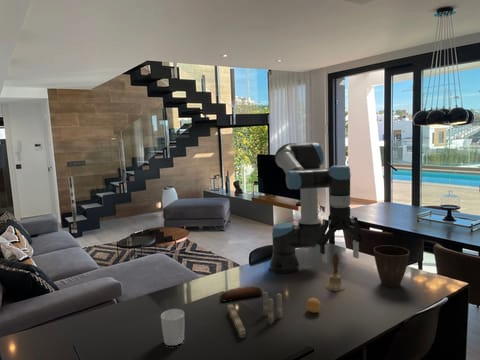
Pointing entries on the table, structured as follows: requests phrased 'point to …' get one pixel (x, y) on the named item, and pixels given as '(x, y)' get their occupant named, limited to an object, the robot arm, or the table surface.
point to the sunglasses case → (241, 293)
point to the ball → (313, 305)
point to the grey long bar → (236, 320)
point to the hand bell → (335, 277)
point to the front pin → (279, 306)
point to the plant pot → (391, 264)
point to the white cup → (173, 326)
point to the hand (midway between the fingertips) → (340, 259)
